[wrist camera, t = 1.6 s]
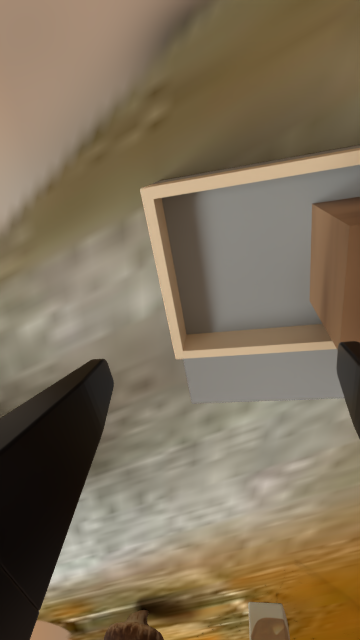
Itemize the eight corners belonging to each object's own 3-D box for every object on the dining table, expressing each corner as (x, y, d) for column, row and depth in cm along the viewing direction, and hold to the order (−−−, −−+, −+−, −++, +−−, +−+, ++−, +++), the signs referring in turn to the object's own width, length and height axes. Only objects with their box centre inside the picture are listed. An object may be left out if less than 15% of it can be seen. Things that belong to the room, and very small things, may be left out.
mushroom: (153, 624, 47) (144, 686, 41) (105, 606, 46) (89, 667, 40) (177, 608, 43) (170, 674, 38) (125, 587, 42) (110, 653, 37)
